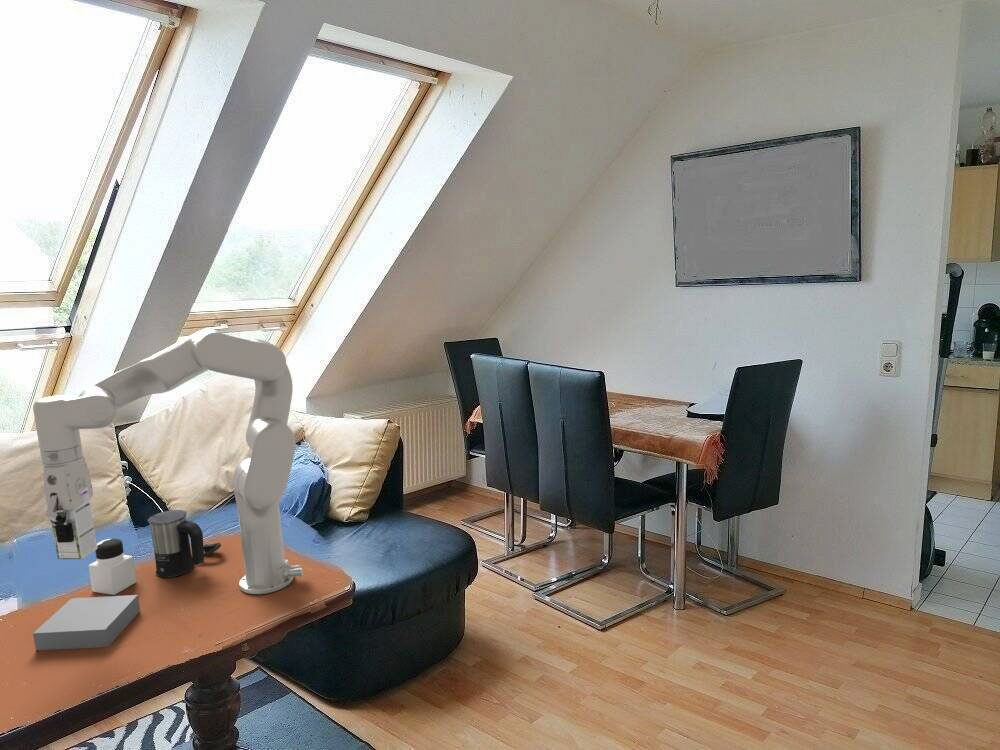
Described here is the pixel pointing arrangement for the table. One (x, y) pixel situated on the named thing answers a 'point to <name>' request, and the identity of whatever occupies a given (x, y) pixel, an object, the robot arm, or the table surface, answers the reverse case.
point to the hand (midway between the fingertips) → (74, 534)
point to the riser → (87, 623)
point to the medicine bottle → (111, 568)
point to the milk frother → (177, 543)
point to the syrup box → (78, 532)
